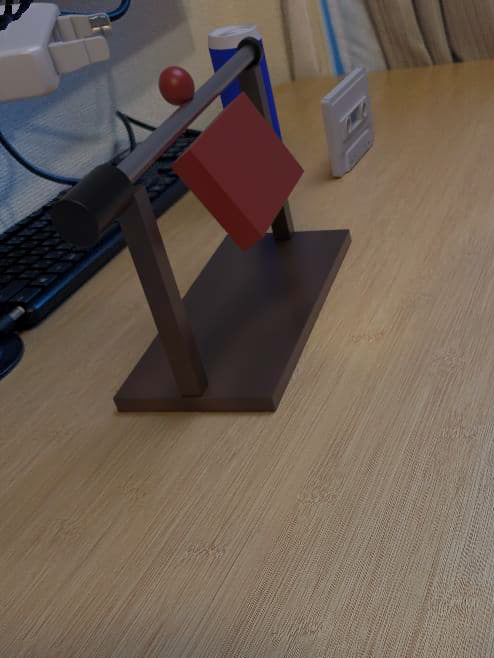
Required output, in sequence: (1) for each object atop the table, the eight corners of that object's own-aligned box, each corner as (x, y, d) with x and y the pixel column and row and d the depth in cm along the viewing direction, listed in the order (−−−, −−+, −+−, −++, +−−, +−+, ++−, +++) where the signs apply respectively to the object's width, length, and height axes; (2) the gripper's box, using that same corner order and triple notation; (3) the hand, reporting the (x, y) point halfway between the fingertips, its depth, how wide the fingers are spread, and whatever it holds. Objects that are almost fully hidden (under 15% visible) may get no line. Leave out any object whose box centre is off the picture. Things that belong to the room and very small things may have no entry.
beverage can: (271, 177, 91) (237, 20, 80) (301, 186, 88) (270, 24, 77) (234, 193, 88) (194, 34, 78) (263, 203, 85) (226, 39, 75)
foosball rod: (176, 354, 48) (17, 193, 43) (308, 150, 72) (216, 28, 66) (205, 333, 47) (45, 164, 41) (330, 132, 70) (238, 6, 65)
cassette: (364, 138, 96) (354, 65, 91) (379, 138, 96) (369, 65, 91) (328, 178, 88) (315, 101, 83) (344, 178, 88) (332, 101, 82)
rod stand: (117, 412, 60) (28, 202, 49) (229, 246, 78) (182, 69, 68) (275, 411, 57) (217, 192, 47) (351, 241, 76) (322, 57, 66)
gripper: (-86, 49, 64) (92, 17, 65) (-45, 1, 79) (99, -25, 80) (-47, 135, 68) (119, 103, 70) (-15, 74, 83) (122, 48, 84)
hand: (109, 34), depth 75 cm, fingers open, 8 cm apart
